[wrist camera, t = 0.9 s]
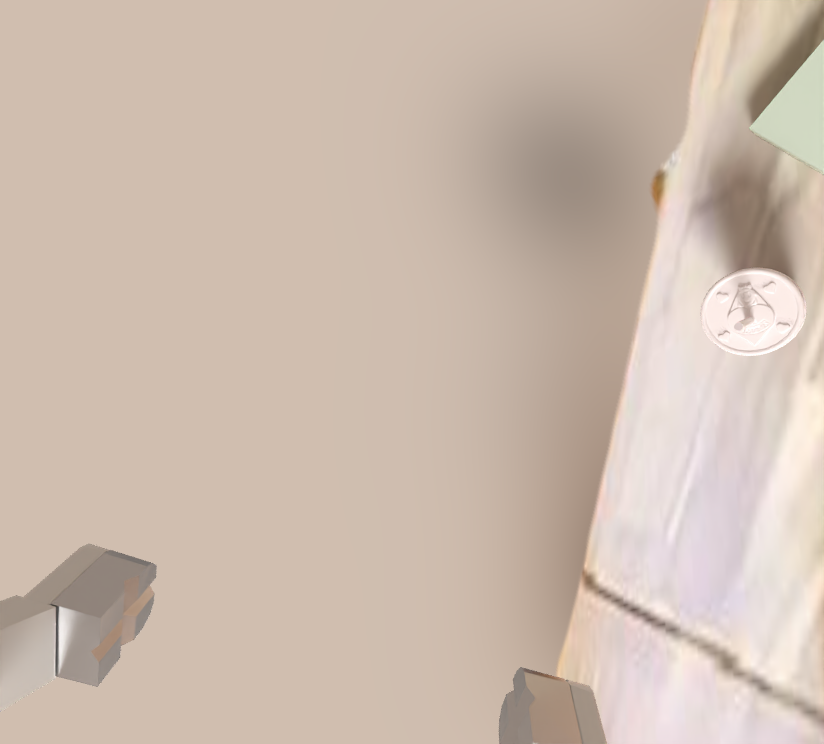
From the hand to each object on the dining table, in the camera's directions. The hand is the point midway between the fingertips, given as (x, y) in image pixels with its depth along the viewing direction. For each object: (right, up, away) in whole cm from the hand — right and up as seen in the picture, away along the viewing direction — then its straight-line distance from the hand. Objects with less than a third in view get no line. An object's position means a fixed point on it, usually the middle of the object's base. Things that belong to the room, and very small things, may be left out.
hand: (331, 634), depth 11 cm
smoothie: (+33, +12, +32) cm, 47 cm away
